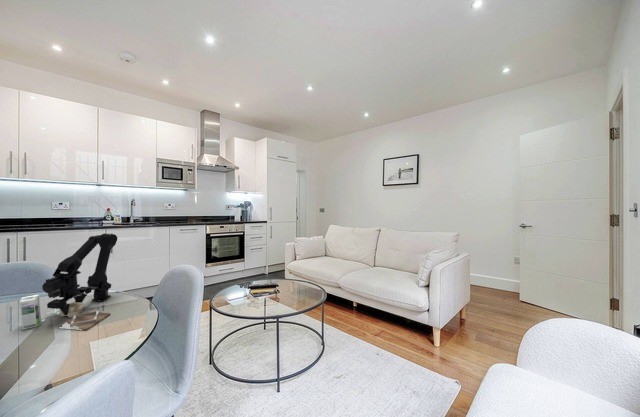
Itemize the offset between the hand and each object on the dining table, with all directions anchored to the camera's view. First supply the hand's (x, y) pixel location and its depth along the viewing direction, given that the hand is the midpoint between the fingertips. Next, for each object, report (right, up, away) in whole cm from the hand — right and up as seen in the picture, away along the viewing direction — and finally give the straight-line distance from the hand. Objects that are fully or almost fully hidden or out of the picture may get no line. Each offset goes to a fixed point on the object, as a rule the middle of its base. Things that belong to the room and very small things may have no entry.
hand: (71, 311), depth 137 cm
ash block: (0, -1, 0) cm, 1 cm away
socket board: (+12, -3, -5) cm, 13 cm away
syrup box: (-9, -2, -11) cm, 14 cm away
